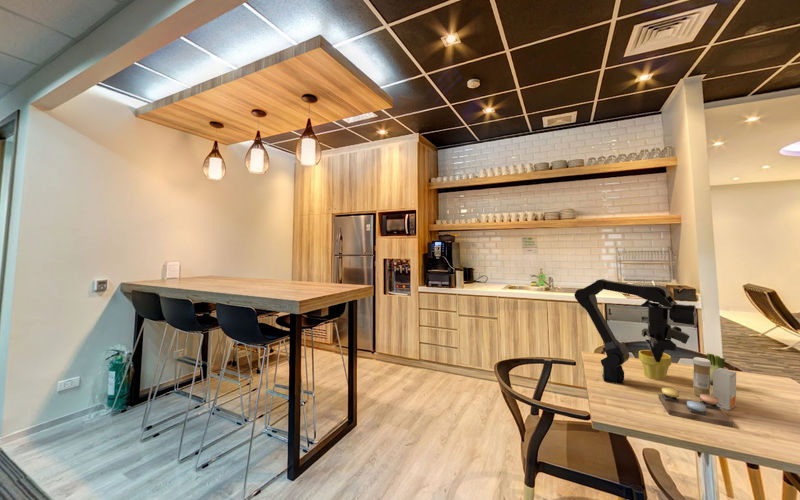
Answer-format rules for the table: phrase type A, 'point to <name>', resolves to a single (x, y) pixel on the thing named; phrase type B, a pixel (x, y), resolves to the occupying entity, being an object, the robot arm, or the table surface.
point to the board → (694, 411)
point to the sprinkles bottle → (701, 376)
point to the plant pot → (654, 365)
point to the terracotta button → (709, 399)
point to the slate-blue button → (696, 406)
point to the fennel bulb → (715, 364)
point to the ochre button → (670, 392)
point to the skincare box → (724, 388)
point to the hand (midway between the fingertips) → (657, 361)
